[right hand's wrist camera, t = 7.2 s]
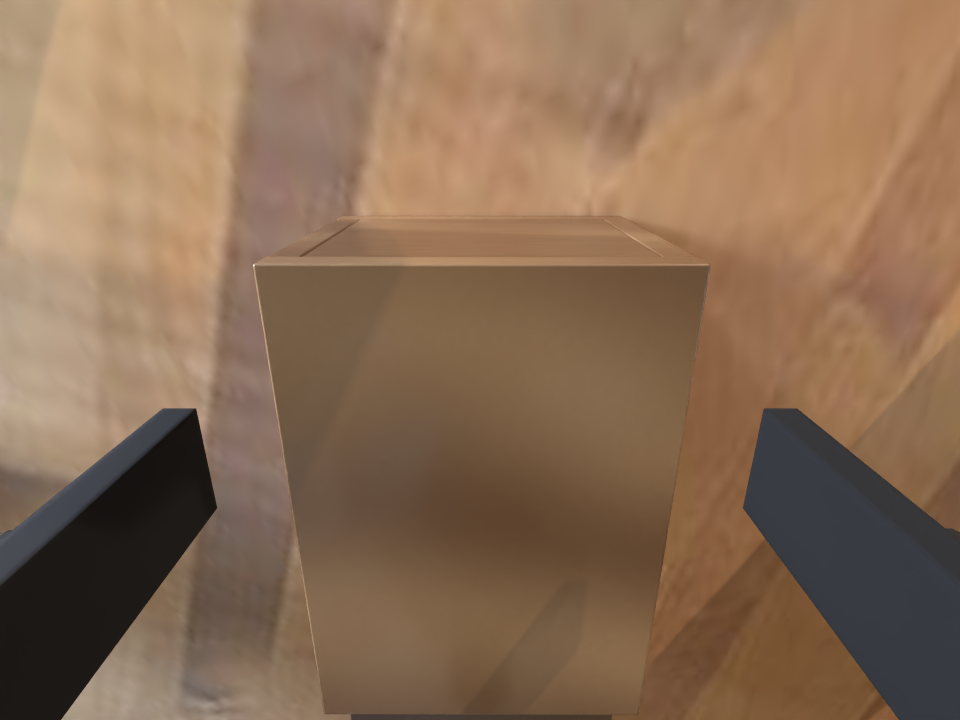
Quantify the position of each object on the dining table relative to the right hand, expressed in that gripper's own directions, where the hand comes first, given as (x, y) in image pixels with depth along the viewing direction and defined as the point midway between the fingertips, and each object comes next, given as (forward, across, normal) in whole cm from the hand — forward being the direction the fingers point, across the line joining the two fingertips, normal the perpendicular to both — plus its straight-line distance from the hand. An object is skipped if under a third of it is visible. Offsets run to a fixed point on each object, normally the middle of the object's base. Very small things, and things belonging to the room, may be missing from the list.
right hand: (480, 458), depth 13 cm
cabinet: (+11, 0, -4) cm, 12 cm away
